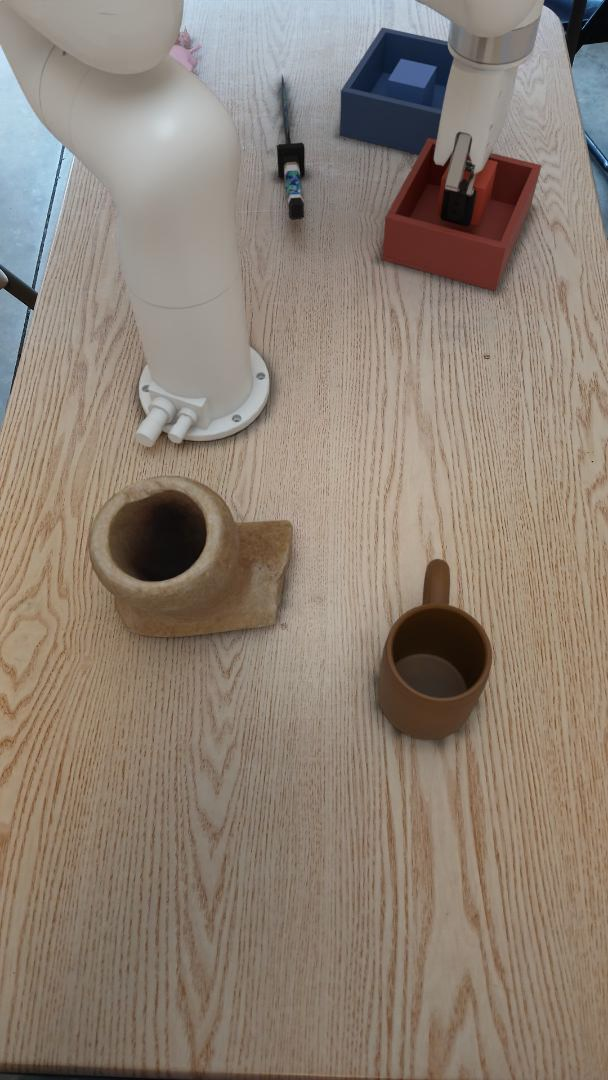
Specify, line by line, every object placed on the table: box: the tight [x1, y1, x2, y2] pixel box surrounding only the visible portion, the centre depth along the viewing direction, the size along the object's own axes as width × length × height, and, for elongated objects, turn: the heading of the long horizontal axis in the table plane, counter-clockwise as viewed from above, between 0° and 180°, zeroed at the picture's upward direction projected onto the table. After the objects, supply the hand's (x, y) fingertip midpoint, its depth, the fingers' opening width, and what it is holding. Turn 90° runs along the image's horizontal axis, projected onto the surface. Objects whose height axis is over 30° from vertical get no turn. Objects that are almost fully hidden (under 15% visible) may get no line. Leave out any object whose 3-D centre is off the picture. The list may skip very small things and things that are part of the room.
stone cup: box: [87, 475, 294, 638], centre depth 63 cm, size 15×12×15 cm
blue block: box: [387, 59, 437, 107], centre depth 99 cm, size 4×4×4 cm
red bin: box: [381, 138, 542, 292], centre depth 88 cm, size 14×13×6 cm
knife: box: [276, 74, 306, 221], centre depth 96 cm, size 31×3×4 cm, turn 1°
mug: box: [377, 558, 493, 741], centre depth 62 cm, size 12×8×9 cm, turn 175°
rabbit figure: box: [169, 25, 202, 73], centre depth 104 cm, size 6×6×15 cm
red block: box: [437, 157, 498, 226], centre depth 86 cm, size 4×4×4 cm
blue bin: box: [339, 27, 454, 155], centre depth 99 cm, size 14×13×6 cm
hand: (463, 204), depth 88 cm, fingers closed on red block, 4 cm apart
